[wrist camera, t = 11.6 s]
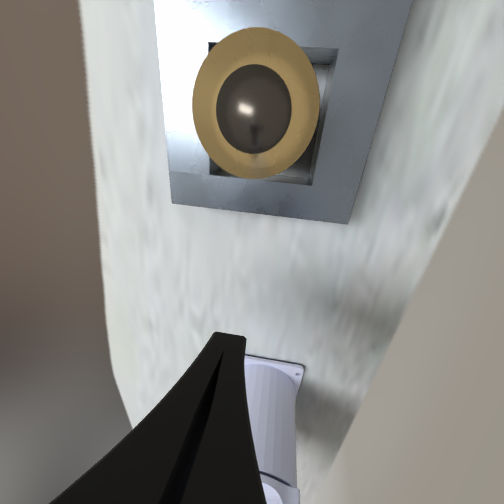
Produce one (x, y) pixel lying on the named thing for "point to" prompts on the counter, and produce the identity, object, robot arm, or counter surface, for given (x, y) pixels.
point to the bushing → (255, 103)
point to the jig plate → (333, 108)
